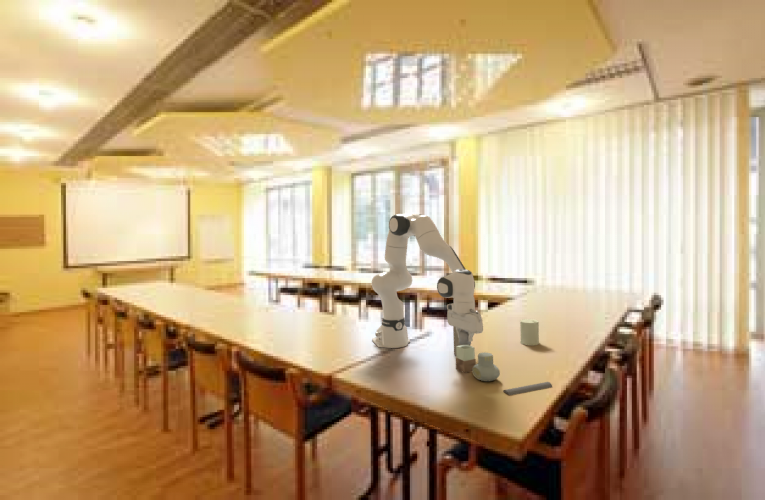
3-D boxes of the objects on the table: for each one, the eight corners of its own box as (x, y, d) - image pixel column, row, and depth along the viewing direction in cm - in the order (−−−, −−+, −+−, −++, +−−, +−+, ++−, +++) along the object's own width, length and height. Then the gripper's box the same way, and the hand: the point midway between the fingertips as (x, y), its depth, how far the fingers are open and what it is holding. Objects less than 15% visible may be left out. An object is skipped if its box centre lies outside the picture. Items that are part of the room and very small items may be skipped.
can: (533, 346, 205) (533, 322, 205) (516, 343, 212) (516, 320, 212) (542, 342, 212) (542, 319, 211) (526, 339, 218) (525, 317, 218)
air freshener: (502, 382, 161) (502, 357, 160) (483, 385, 158) (483, 359, 158) (487, 373, 171) (487, 349, 171) (470, 375, 169) (469, 351, 168)
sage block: (456, 357, 177) (456, 346, 177) (466, 355, 180) (466, 344, 179) (464, 361, 172) (463, 349, 172) (474, 358, 175) (474, 347, 174)
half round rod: (553, 388, 154) (553, 384, 154) (509, 397, 148) (509, 392, 148) (545, 384, 158) (545, 380, 158) (502, 393, 152) (502, 388, 152)
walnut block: (455, 368, 178) (455, 357, 177) (467, 366, 180) (466, 355, 180) (464, 373, 172) (464, 361, 172) (475, 370, 175) (475, 358, 175)
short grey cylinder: (456, 342, 177) (456, 331, 176) (465, 341, 179) (465, 329, 179) (464, 345, 172) (464, 333, 172) (473, 343, 175) (473, 332, 174)
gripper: (486, 310, 167) (487, 344, 168) (456, 303, 185) (456, 333, 186) (474, 312, 164) (475, 346, 165) (444, 304, 183) (445, 335, 183)
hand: (465, 339), depth 176 cm, fingers closed on short grey cylinder, 5 cm apart
